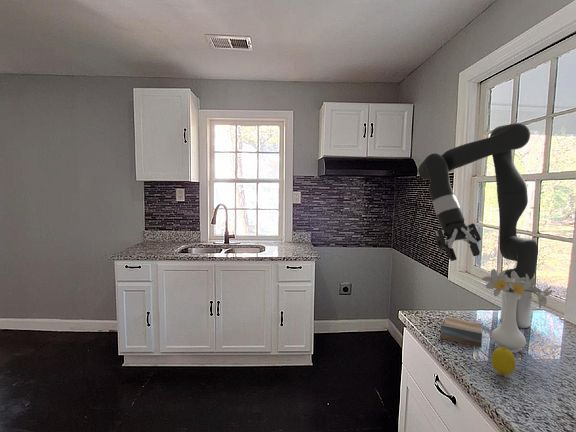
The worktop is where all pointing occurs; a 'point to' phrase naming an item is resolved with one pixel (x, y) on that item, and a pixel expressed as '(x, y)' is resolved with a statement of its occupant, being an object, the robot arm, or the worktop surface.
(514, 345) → the flower vase
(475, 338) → the stop board
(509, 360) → the lemon
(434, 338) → the worktop surface
